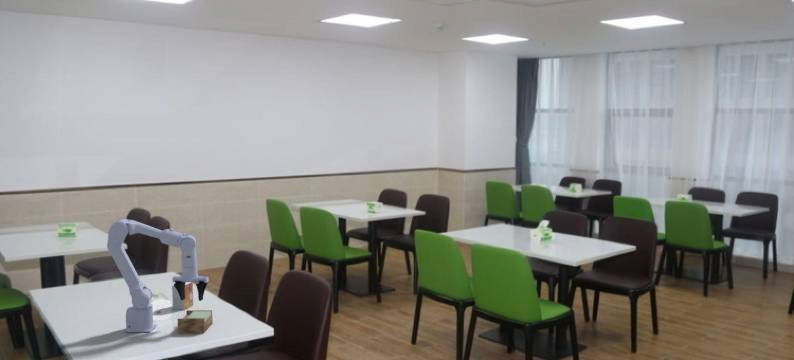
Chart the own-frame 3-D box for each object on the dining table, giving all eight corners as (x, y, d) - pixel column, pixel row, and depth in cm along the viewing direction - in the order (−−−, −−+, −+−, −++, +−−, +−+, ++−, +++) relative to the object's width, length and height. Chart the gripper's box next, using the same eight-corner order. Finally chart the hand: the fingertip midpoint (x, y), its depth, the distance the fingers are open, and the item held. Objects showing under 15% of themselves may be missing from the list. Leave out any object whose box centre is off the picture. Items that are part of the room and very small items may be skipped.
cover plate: (186, 321, 254) (186, 318, 254) (193, 314, 263) (193, 311, 263) (204, 321, 254) (204, 318, 254) (211, 314, 263) (211, 311, 263)
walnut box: (177, 333, 253) (177, 319, 253) (187, 323, 265) (187, 310, 265) (204, 333, 253) (203, 319, 253) (212, 323, 265) (212, 310, 265)
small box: (184, 310, 283) (183, 286, 282) (172, 309, 285) (171, 285, 284) (193, 305, 291) (192, 281, 290) (182, 304, 292) (181, 281, 291)
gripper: (211, 263, 262) (213, 297, 264) (177, 263, 265) (180, 296, 266) (203, 268, 255) (205, 302, 257) (168, 267, 258) (171, 301, 260)
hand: (191, 299), depth 261 cm, fingers open, 7 cm apart
